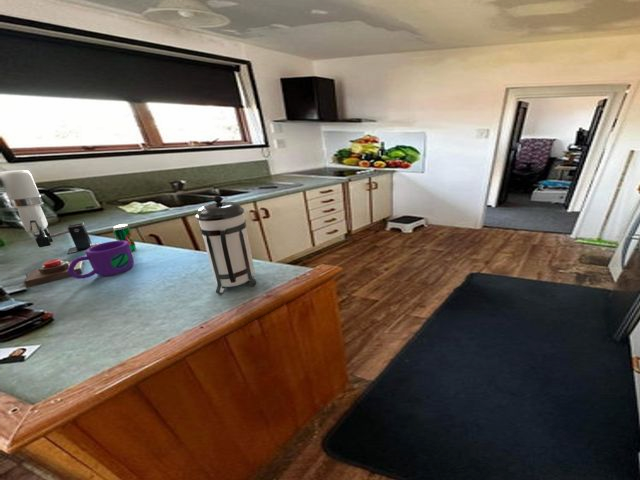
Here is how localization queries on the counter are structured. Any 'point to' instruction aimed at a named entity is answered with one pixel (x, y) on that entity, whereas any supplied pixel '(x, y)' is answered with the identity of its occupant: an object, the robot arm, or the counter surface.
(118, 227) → the soda can
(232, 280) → the coffee press
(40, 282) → the lamp base
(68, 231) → the lever
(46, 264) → the lamp button
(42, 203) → the robot arm
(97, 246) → the mug
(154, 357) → the counter surface
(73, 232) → the switch bracket
